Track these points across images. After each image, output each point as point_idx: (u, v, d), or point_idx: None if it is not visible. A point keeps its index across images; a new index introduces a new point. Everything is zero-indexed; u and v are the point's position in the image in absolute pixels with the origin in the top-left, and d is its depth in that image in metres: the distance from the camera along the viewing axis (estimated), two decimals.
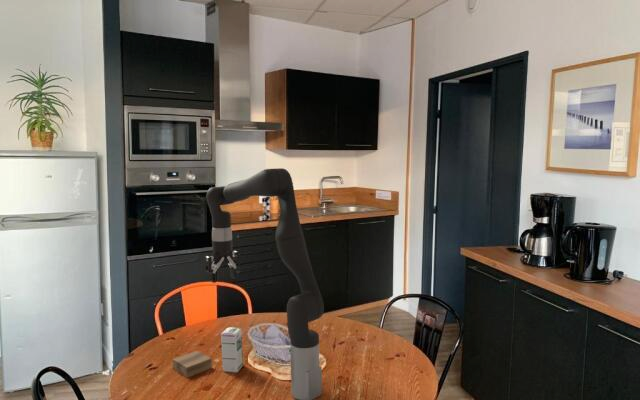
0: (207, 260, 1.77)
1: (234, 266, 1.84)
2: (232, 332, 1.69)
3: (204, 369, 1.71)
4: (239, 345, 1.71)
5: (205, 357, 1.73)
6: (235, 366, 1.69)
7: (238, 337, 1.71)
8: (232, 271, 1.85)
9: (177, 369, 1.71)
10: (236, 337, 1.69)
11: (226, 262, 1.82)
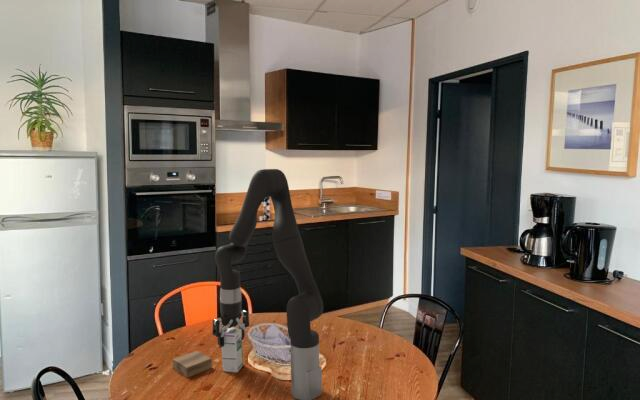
0: (215, 324, 1.66)
1: (243, 327, 1.73)
2: (232, 332, 1.69)
3: (204, 369, 1.71)
4: (239, 345, 1.71)
5: (205, 358, 1.73)
6: (235, 366, 1.69)
7: (238, 337, 1.71)
8: None
9: (177, 369, 1.71)
10: (236, 337, 1.69)
11: (235, 324, 1.71)
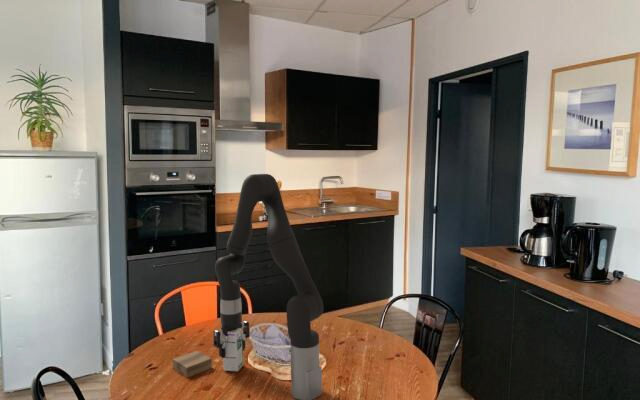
0: (215, 335, 1.66)
1: (243, 338, 1.74)
2: (232, 331, 1.69)
3: (204, 369, 1.71)
4: (240, 344, 1.71)
5: (205, 358, 1.73)
6: (236, 365, 1.69)
7: (239, 335, 1.70)
8: None
9: (177, 369, 1.71)
10: (236, 336, 1.68)
11: None
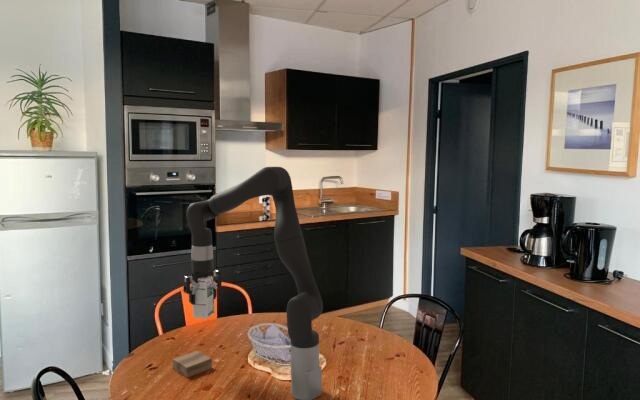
0: (185, 281, 1.65)
1: (215, 286, 1.72)
2: (203, 278, 1.68)
3: (204, 369, 1.71)
4: (210, 292, 1.70)
5: (205, 357, 1.73)
6: (205, 312, 1.68)
7: (209, 283, 1.69)
8: None
9: (177, 369, 1.71)
10: (207, 283, 1.67)
11: None
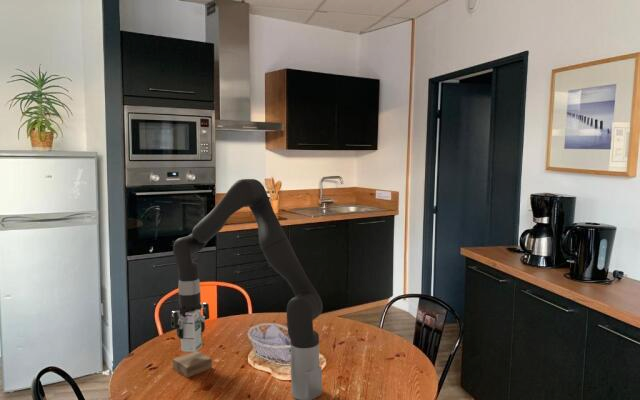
0: (173, 315, 1.66)
1: (203, 319, 1.73)
2: (190, 312, 1.69)
3: (204, 369, 1.71)
4: (198, 325, 1.71)
5: (205, 358, 1.73)
6: (193, 346, 1.69)
7: (197, 317, 1.70)
8: None
9: (177, 369, 1.71)
10: (194, 317, 1.68)
11: None
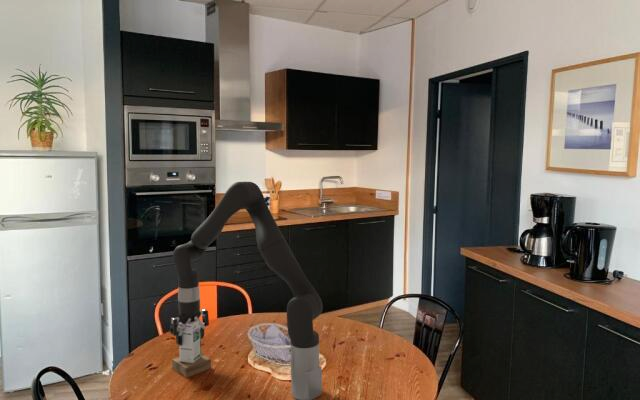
0: (172, 322, 1.66)
1: (202, 326, 1.74)
2: None
3: (203, 370, 1.71)
4: (197, 336, 1.71)
5: (204, 358, 1.73)
6: (191, 356, 1.69)
7: (196, 328, 1.70)
8: None
9: (176, 369, 1.71)
10: (193, 328, 1.68)
11: None
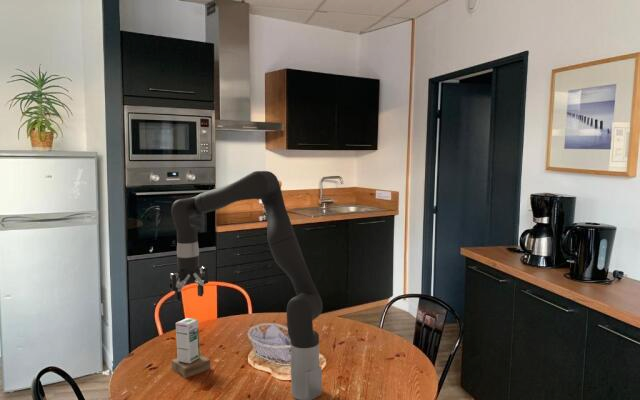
0: (171, 278, 1.64)
1: (202, 283, 1.72)
2: (186, 322, 1.69)
3: (202, 370, 1.71)
4: (194, 336, 1.71)
5: (203, 359, 1.73)
6: (188, 357, 1.69)
7: (193, 328, 1.70)
8: (199, 289, 1.73)
9: (176, 370, 1.71)
10: (189, 328, 1.68)
11: (192, 279, 1.70)
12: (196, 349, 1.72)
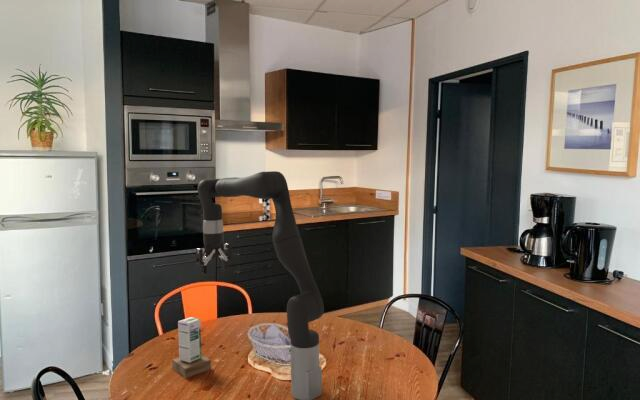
0: (198, 252, 1.77)
1: (225, 259, 1.85)
2: (187, 321, 1.70)
3: (203, 370, 1.70)
4: (195, 336, 1.71)
5: (204, 359, 1.73)
6: (188, 356, 1.69)
7: (194, 327, 1.70)
8: (223, 264, 1.85)
9: (176, 370, 1.71)
10: (190, 327, 1.69)
11: (217, 254, 1.82)
12: (197, 349, 1.71)
